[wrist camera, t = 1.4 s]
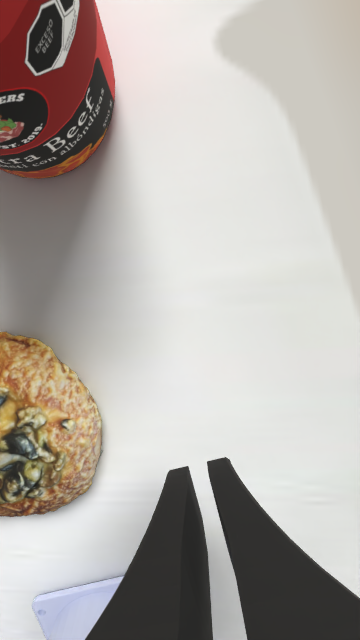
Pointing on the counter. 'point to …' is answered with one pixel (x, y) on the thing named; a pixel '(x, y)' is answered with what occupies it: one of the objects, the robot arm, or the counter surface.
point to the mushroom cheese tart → (43, 430)
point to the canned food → (52, 85)
